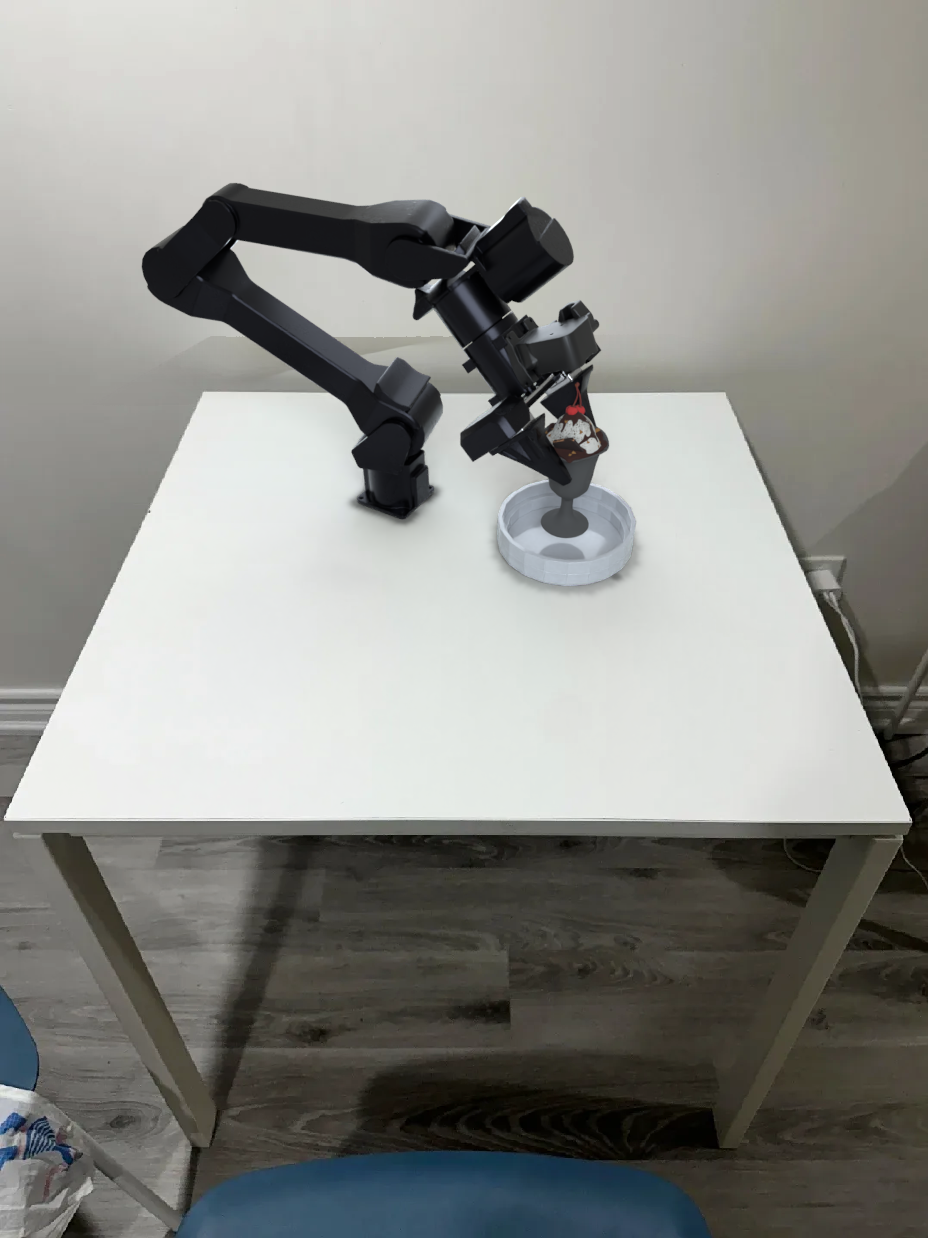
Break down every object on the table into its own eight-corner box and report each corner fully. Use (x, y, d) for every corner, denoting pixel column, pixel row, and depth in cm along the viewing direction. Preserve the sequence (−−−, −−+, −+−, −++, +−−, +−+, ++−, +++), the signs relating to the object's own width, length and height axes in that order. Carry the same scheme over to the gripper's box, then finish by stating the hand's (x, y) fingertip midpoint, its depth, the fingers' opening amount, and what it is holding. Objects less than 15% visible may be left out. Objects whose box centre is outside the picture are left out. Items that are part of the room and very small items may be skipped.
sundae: (570, 496, 95) (584, 368, 84) (609, 530, 91) (630, 400, 80) (519, 516, 92) (528, 387, 82) (558, 551, 88) (572, 420, 78)
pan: (473, 560, 92) (473, 533, 89) (535, 491, 100) (537, 465, 98) (597, 607, 86) (600, 580, 84) (651, 530, 95) (656, 503, 93)
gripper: (493, 327, 70) (604, 484, 74) (592, 247, 82) (684, 387, 85) (413, 389, 79) (516, 528, 82) (513, 309, 90) (600, 434, 94)
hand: (583, 466), depth 86 cm, fingers closed on sundae, 6 cm apart
